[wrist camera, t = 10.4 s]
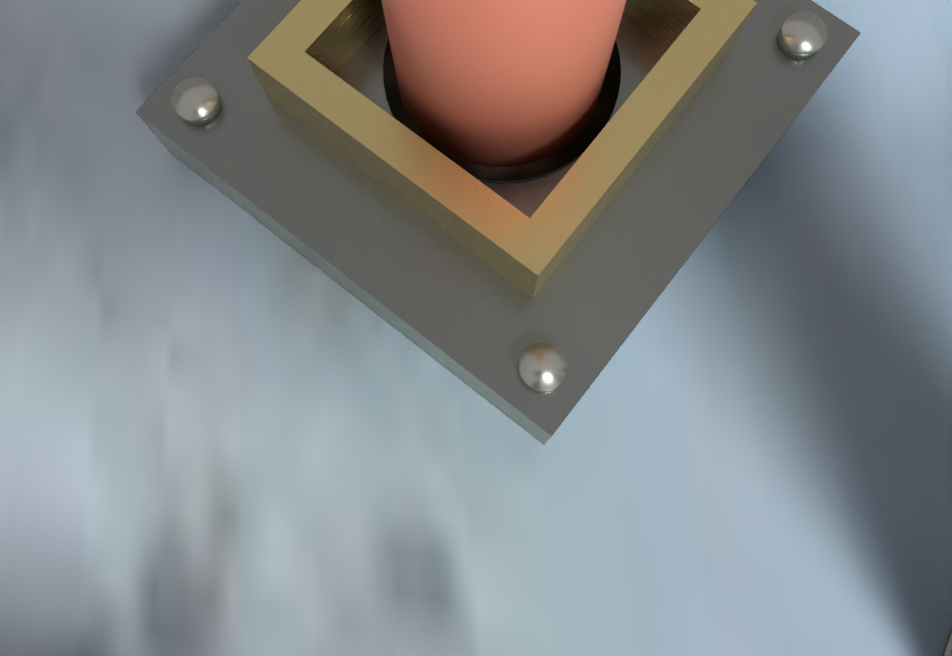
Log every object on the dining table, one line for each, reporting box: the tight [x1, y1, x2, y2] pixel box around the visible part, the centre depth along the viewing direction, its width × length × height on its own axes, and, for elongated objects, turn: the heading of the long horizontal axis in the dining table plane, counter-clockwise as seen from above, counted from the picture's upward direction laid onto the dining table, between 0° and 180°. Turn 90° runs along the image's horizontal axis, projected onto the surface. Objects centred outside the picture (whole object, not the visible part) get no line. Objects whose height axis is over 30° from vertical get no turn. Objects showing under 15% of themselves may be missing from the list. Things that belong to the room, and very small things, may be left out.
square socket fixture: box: [136, 0, 860, 444], centre depth 23 cm, size 14×14×4 cm
